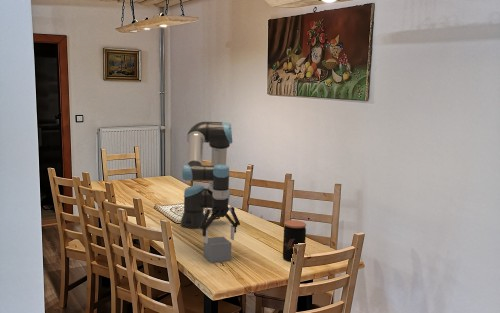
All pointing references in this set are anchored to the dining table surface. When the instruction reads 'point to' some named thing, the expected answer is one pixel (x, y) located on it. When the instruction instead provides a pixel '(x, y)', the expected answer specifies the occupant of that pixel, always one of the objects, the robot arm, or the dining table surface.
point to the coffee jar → (293, 237)
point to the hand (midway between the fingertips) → (219, 241)
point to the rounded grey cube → (217, 250)
